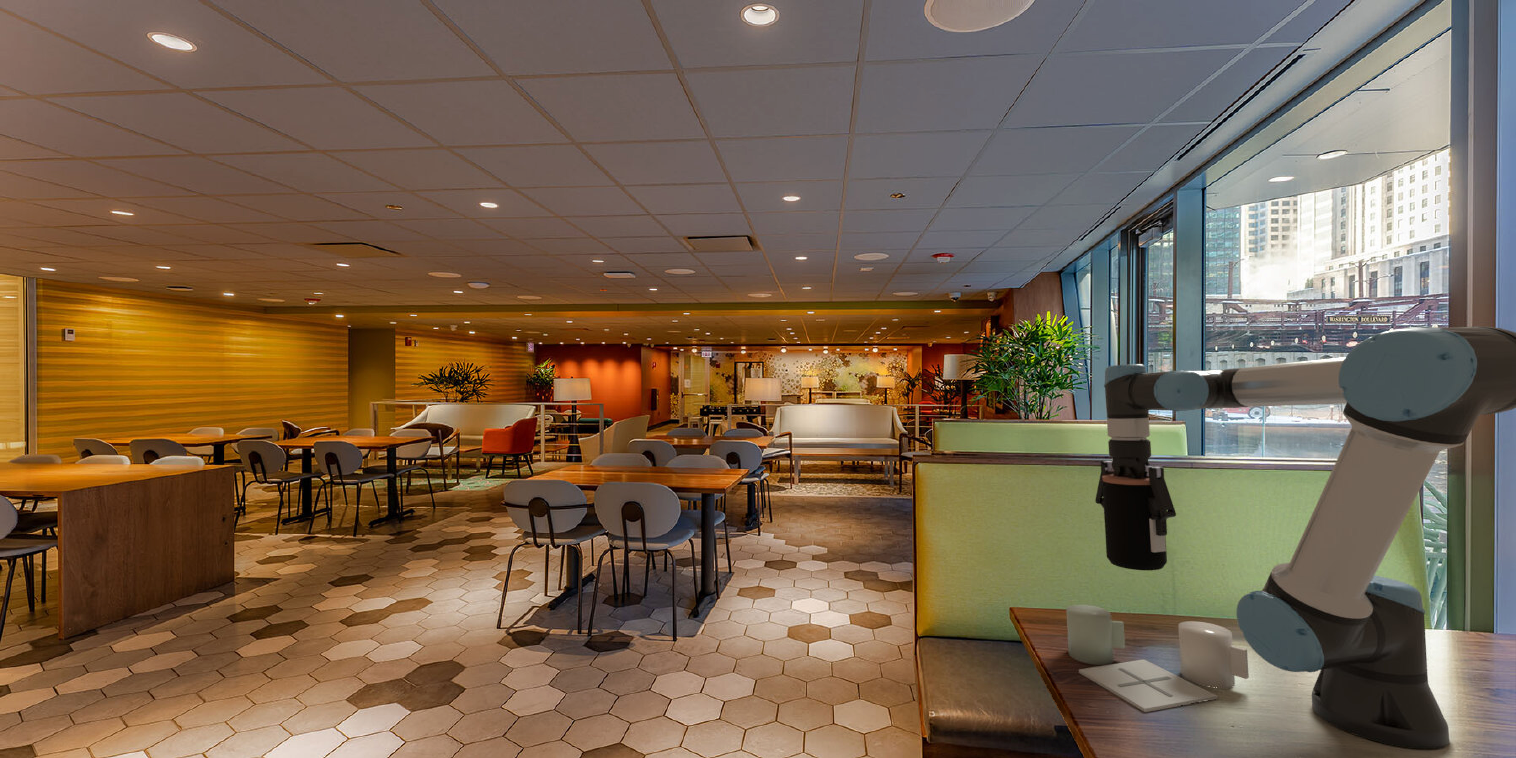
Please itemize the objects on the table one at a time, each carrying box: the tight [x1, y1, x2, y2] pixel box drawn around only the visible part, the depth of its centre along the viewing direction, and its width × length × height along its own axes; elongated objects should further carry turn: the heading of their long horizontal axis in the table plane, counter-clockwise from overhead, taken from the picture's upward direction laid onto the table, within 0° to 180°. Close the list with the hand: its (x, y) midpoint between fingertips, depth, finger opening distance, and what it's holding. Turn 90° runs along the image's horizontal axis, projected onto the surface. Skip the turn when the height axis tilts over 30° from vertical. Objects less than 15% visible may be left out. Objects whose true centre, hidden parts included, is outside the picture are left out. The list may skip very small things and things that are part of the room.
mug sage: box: [1065, 604, 1126, 666], centre depth 122 cm, size 10×8×9 cm
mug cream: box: [1178, 620, 1250, 689], centre depth 111 cm, size 10×8×9 cm
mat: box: [1078, 659, 1218, 713], centre depth 110 cm, size 15×15×1 cm
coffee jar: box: [1102, 474, 1168, 571], centre depth 125 cm, size 11×11×18 cm
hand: (1135, 544), depth 124 cm, fingers closed on coffee jar, 11 cm apart
